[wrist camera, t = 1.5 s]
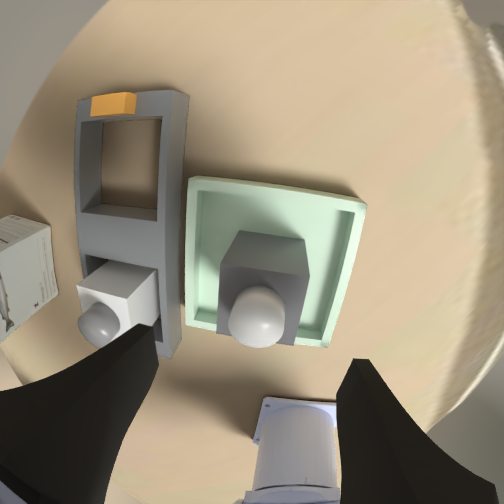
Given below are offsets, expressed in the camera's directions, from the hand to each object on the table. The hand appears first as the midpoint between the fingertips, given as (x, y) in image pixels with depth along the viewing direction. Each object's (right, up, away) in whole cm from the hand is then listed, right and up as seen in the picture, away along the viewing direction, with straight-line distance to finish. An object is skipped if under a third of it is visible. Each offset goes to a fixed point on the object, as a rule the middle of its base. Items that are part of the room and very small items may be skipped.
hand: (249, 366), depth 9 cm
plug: (+1, +3, +8) cm, 9 cm away
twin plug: (-9, +2, +11) cm, 14 cm away
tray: (+1, +3, +9) cm, 10 cm away
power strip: (-8, +6, +9) cm, 14 cm away
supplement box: (-21, +4, +12) cm, 25 cm away
